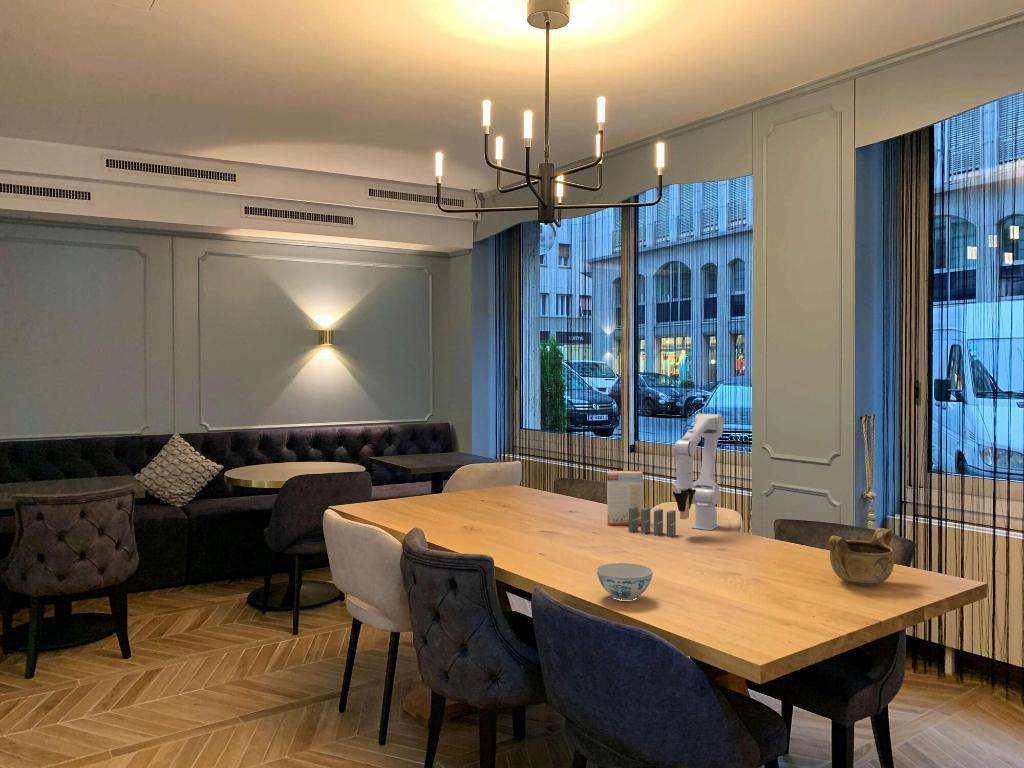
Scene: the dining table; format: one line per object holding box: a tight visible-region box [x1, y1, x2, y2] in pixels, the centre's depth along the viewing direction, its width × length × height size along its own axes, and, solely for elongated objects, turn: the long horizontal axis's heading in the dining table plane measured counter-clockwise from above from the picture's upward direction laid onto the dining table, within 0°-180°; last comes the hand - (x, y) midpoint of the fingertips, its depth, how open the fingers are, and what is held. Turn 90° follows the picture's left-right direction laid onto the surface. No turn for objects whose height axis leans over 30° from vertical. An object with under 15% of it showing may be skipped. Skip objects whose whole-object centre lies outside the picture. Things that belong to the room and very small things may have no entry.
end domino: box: [628, 506, 639, 533], centre depth 292 cm, size 5×2×9 cm, turn 147°
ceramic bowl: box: [828, 527, 895, 588], centre depth 220 cm, size 22×17×15 cm
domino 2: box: [653, 508, 664, 536], centre depth 286 cm, size 5×2×9 cm, turn 147°
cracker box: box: [606, 470, 644, 526], centre depth 304 cm, size 14×6×21 cm, turn 84°
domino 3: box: [666, 509, 677, 538], centre depth 284 cm, size 5×2×9 cm, turn 147°
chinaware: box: [596, 562, 654, 600], centre depth 208 cm, size 15×15×8 cm
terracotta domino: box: [679, 495, 690, 520], centre depth 281 cm, size 5×2×9 cm, turn 148°
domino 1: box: [640, 507, 651, 534], centre depth 289 cm, size 5×2×9 cm, turn 147°
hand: (684, 510), depth 281 cm, fingers closed on terracotta domino, 5 cm apart
